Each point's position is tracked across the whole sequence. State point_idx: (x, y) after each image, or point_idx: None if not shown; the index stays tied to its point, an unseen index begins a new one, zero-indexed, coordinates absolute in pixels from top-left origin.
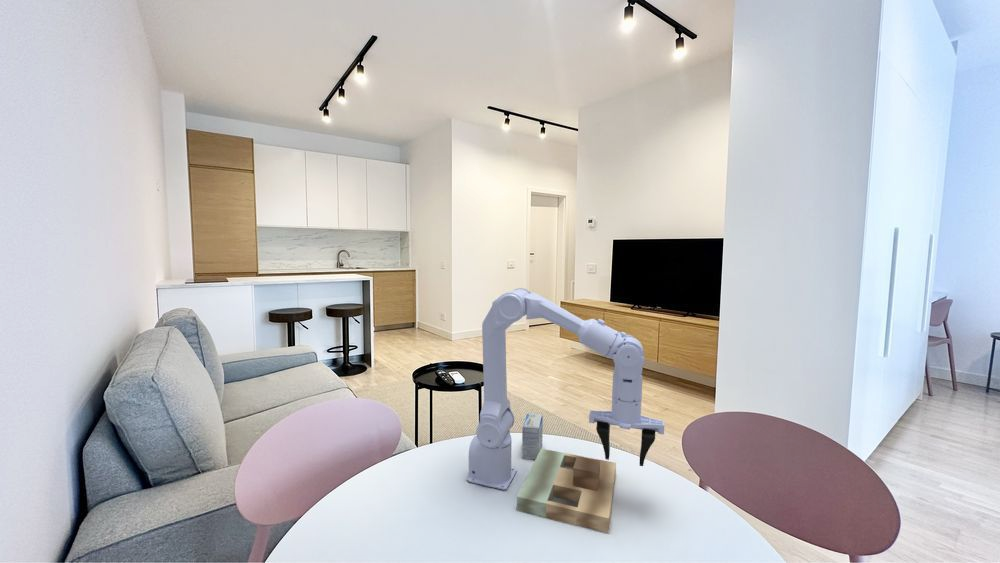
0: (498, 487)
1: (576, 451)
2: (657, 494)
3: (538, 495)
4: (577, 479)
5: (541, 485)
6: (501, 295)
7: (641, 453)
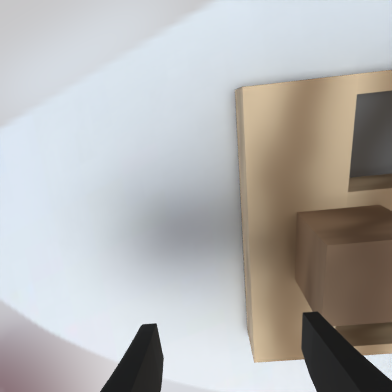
0: None
1: None
2: (139, 300)
3: None
4: (382, 217)
5: None
6: None
7: (130, 386)
